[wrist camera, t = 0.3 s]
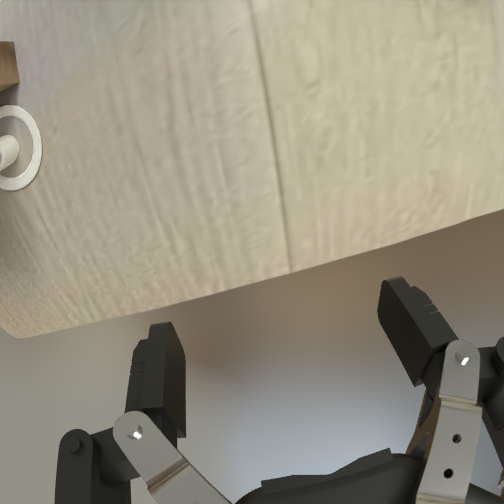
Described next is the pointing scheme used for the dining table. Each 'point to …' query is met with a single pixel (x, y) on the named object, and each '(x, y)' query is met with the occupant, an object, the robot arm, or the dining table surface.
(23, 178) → the candle holder
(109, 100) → the dining table surface
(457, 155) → the dining table surface
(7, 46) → the bearing block
